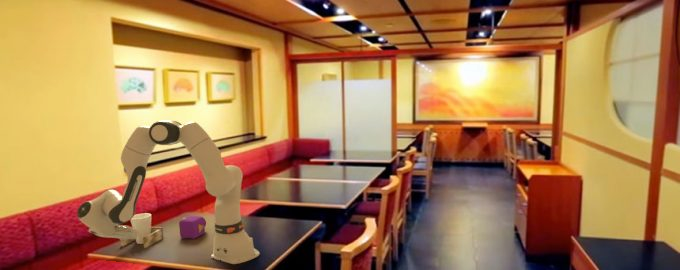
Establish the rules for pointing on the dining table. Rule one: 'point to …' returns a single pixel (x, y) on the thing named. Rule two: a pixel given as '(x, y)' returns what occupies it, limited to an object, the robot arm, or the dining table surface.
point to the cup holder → (148, 237)
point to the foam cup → (141, 226)
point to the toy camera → (192, 227)
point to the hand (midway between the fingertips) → (125, 239)
